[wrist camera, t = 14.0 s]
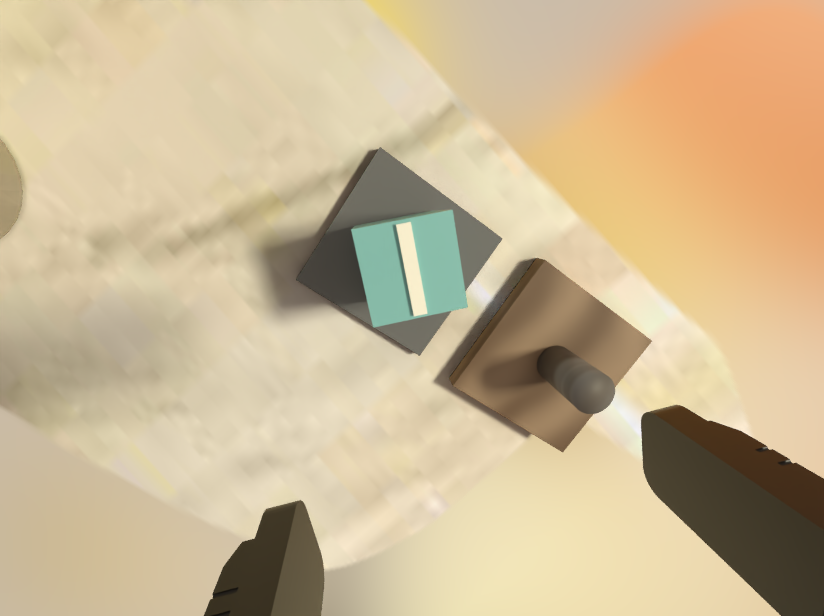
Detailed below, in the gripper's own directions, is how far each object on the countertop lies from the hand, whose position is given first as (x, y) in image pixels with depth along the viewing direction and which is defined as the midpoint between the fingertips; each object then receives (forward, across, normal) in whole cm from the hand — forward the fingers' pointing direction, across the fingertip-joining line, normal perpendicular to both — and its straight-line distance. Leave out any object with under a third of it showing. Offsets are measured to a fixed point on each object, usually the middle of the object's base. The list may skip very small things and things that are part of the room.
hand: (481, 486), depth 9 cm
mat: (+22, -1, -3) cm, 22 cm away
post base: (+22, -11, +8) cm, 25 cm away
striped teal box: (+21, -1, -3) cm, 21 cm away
